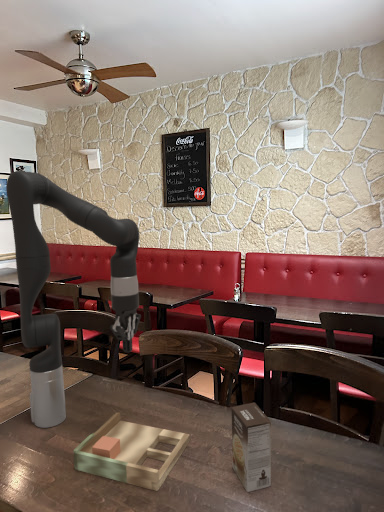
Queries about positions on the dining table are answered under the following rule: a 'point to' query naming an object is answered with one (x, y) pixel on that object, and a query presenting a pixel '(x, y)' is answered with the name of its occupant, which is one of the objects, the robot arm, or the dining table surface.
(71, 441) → the dining table surface
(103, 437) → the block
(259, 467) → the coffee box
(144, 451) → the box
